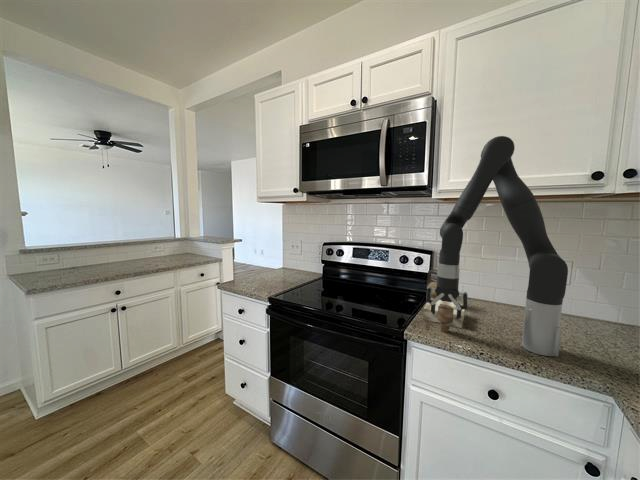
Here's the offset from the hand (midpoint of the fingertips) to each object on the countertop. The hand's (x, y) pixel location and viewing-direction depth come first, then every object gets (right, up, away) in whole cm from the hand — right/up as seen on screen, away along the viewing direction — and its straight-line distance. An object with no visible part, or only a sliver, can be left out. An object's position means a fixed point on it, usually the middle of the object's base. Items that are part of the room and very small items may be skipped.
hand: (445, 316), depth 102 cm
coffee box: (+12, -3, +34) cm, 36 cm away
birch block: (+6, -5, +14) cm, 16 cm away
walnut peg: (0, -6, +1) cm, 6 cm away
